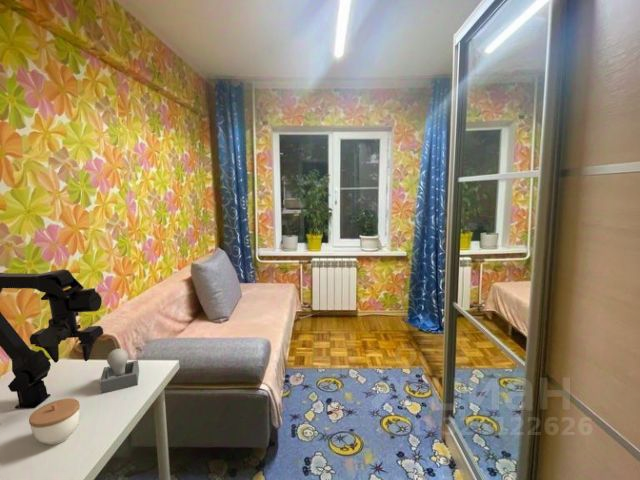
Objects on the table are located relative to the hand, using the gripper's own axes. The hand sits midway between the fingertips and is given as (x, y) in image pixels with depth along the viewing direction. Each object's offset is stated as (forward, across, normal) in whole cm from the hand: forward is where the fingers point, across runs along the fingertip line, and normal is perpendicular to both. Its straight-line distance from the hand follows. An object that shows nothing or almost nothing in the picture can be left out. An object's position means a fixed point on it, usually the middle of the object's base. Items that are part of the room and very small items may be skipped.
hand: (71, 361), depth 110 cm
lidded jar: (+13, +6, -16) cm, 22 cm away
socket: (+13, +8, +10) cm, 18 cm away
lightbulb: (+12, +8, +9) cm, 18 cm away
